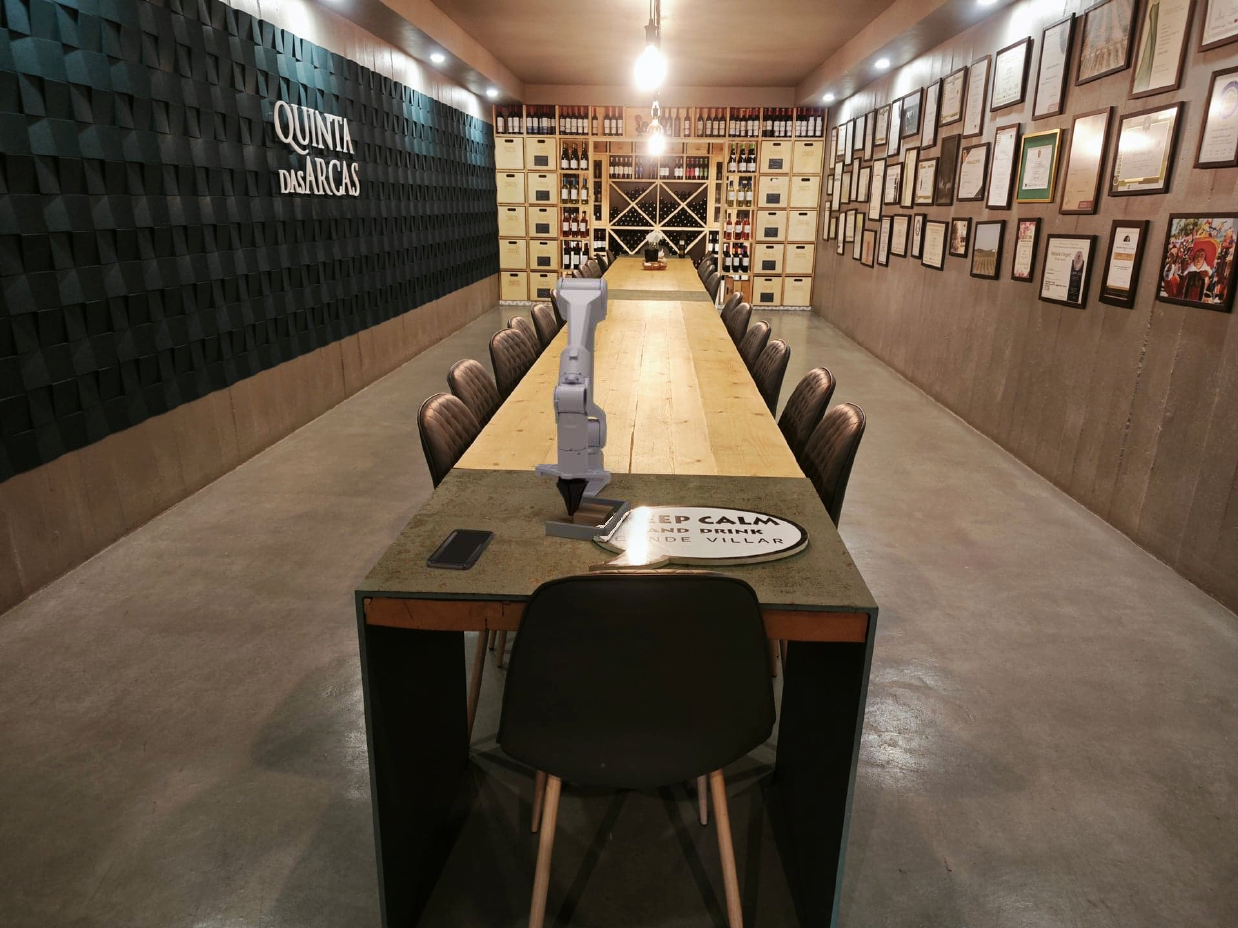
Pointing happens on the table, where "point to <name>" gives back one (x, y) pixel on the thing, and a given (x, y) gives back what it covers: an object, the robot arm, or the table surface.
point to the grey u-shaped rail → (589, 531)
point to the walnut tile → (592, 515)
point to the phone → (460, 549)
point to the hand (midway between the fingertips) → (573, 514)
